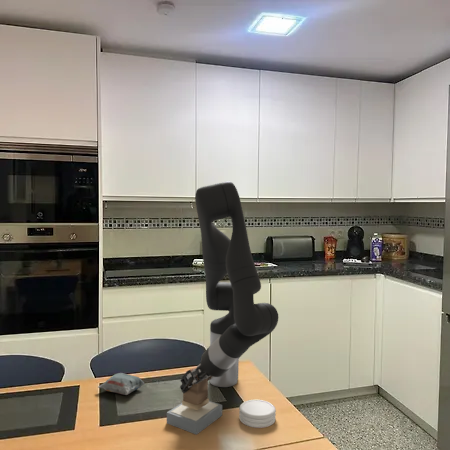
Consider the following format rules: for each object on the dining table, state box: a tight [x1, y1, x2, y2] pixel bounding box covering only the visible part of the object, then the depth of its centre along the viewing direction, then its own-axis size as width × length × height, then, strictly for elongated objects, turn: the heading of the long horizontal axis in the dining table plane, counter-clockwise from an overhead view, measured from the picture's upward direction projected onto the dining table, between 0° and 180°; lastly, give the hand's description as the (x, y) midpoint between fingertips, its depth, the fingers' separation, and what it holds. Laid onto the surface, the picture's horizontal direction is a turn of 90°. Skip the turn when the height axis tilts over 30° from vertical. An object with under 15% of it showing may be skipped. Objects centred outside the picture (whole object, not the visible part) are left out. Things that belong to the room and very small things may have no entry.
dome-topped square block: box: [181, 367, 210, 410], centre depth 116 cm, size 5×5×9 cm
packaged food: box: [97, 372, 146, 396], centre depth 133 cm, size 9×12×5 cm
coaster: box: [238, 399, 277, 429], centre depth 117 cm, size 10×10×4 cm
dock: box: [166, 400, 223, 435], centre depth 116 cm, size 12×10×3 cm
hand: (191, 386), depth 117 cm, fingers closed on dome-topped square block, 5 cm apart
